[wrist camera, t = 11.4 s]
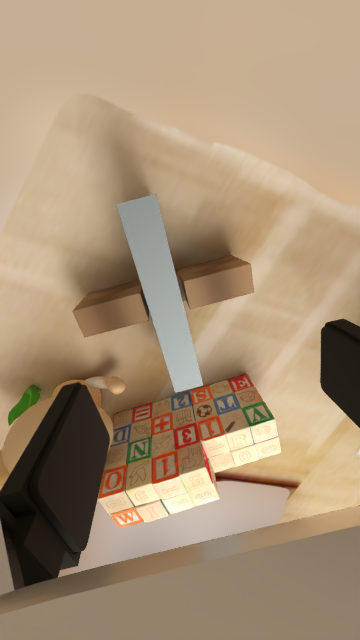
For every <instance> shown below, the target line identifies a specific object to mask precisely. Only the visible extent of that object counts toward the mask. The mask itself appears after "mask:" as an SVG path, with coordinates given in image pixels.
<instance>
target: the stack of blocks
mask: <svg viewBox="0 0 360 640" xmlns="http://www.w3.org/2000/svg"><path fill="white" fill-rule="evenodd" d="M278 453H281V447H280V442H279V437H278V433H277V428H276V422H275V419H274V417H273V415H272V413H271V412H270V410H269V409H268V407H267V405H266V404H265V402H264V401H263V400H262V398H261V396H260V394H259V393H258V391H257V389H256V388H255V387H254V385H253V383H252V382H251V380H250V378H249V376H248V375H247V374H245V375H242V376H239V377H236V378H232V379H229V380H224V381H221V382H218V383H214V384H211V385H209V386H205V387H201V388H198V389H195V390H191V391H190V392H186V393H183V394H180V395H177V396H173V397H171V398H167V399H164V400H161V401H158V402H154V403H150V404H146V405H143V406H140V407H137V408H134V409H130V410H126V411H123V412H120V413H117V414H115V415H114V420H113V438H112V443H111V446H110V449H109V451H108V454H107V458H106V462H105V467H104V471H103V476H102V481H101V486H100V491H99V496H98V500H99V502H100V503H101V504H102V506H103V507H104V508H105V510H106V511H107V513H108V514H110V516H111V518H112V519H113V520H114V521H115V523H116V524H117V525H118V526H119V527H120V528H124V527H127V526H130V525H133V524H137V523H141V522H144V521H145V522H150V521H153V520H156V519H159V518H163V517H166V516H169V514H174V513H177V512H180V511H184V510H186V509H189V508H193V507H194V506H198V505H201V504H204V503H208V502H211V501H214V500H218V499H220V497H219V493H218V489H217V484H216V479H215V475H214V473H216V472H219V471H222V470H225V469H228V468H232V467H234V466H239V465H243V464H246V463H249V462H253V461H256V460H258V459H261V458H265V457H268V456H272V455H275V454H278Z"/></svg>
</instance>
